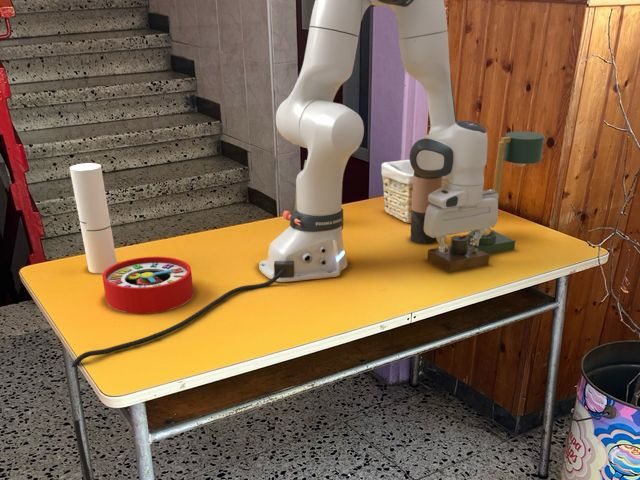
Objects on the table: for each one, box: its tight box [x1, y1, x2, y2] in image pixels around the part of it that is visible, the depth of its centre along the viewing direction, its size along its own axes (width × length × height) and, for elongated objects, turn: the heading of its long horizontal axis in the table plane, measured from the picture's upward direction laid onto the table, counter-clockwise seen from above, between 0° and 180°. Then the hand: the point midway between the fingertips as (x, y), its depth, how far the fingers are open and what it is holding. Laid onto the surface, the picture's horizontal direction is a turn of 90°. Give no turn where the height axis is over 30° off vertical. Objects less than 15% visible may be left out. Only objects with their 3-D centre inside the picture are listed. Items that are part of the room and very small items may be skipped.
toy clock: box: [101, 256, 195, 314], centre depth 170 cm, size 20×6×20 cm
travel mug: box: [410, 171, 442, 245], centre depth 198 cm, size 8×8×20 cm
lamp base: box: [461, 229, 516, 256], centre depth 196 cm, size 12×10×4 cm
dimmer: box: [426, 244, 491, 274], centre depth 187 cm, size 12×10×3 cm
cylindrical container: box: [69, 162, 118, 274], centre depth 180 cm, size 7×7×25 cm
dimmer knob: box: [449, 234, 469, 255], centre depth 185 cm, size 4×4×4 cm
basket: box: [380, 159, 447, 224], centre depth 220 cm, size 24×16×15 cm
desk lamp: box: [492, 130, 546, 204], centre depth 196 cm, size 13×10×22 cm
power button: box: [474, 228, 492, 237], centre depth 193 cm, size 4×4×2 cm
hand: (458, 248), depth 186 cm, fingers open, 8 cm apart
